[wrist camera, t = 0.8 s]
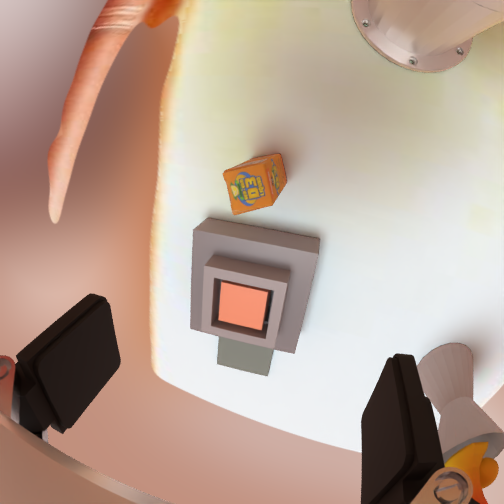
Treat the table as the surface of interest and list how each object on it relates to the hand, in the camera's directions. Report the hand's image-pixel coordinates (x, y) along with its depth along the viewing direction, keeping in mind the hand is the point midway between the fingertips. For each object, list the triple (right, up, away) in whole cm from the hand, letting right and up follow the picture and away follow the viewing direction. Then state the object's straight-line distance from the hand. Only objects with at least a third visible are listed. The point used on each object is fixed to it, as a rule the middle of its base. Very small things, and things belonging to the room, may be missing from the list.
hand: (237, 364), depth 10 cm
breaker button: (0, -1, +23) cm, 23 cm away
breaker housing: (+1, +1, +26) cm, 26 cm away
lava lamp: (+26, -12, +25) cm, 38 cm away
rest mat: (0, -9, +30) cm, 31 cm away
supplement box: (+2, +12, +21) cm, 24 cm away
